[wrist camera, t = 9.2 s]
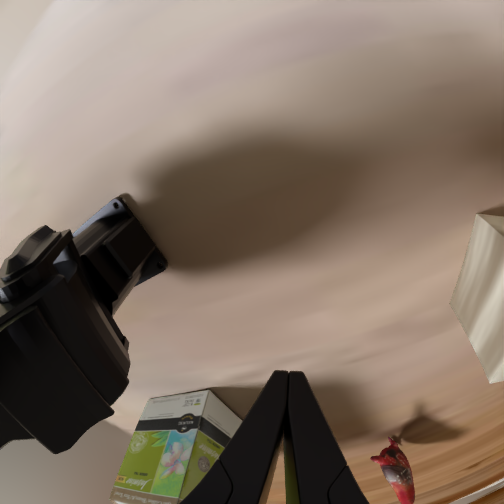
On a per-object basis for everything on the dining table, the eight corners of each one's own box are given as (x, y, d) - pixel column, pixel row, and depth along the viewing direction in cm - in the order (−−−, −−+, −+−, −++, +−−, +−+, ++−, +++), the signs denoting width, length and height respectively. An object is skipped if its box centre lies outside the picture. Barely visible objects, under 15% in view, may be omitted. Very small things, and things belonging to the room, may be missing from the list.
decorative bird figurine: (396, 456, 35) (402, 511, 27) (354, 415, 30) (359, 493, 21) (414, 450, 34) (422, 505, 26) (377, 406, 29) (387, 486, 20)
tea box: (145, 397, 33) (103, 500, 20) (211, 386, 30) (175, 516, 17) (214, 452, 38) (194, 538, 26) (275, 446, 35) (263, 544, 22)
